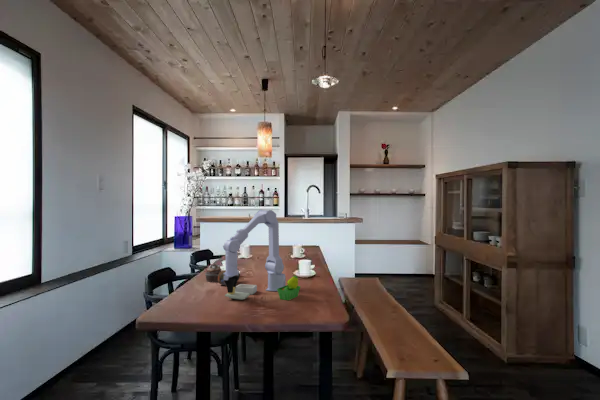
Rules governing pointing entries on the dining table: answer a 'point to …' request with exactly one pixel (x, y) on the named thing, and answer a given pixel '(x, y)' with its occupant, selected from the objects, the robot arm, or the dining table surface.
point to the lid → (237, 295)
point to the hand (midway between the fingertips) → (231, 291)
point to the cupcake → (213, 273)
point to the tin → (222, 277)
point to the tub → (246, 288)
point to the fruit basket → (289, 289)
